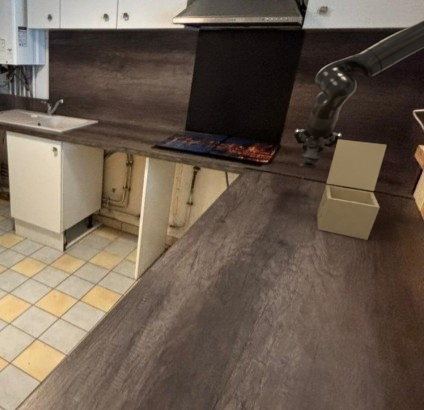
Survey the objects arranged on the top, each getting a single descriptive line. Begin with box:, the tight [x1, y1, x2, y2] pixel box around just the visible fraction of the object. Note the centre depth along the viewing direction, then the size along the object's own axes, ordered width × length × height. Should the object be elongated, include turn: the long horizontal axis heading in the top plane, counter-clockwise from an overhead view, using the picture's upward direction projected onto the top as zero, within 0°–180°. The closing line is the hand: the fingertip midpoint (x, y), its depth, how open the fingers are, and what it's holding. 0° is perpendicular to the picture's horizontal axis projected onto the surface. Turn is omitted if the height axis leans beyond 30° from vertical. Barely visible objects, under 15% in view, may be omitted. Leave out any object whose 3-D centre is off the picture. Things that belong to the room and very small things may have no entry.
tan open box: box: [316, 184, 381, 241], centre depth 104 cm, size 13×12×10 cm
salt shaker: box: [299, 140, 321, 169], centre depth 124 cm, size 6×6×12 cm
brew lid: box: [326, 139, 387, 192], centre depth 108 cm, size 14×12×4 cm
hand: (312, 149), depth 126 cm, fingers closed on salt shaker, 3 cm apart
